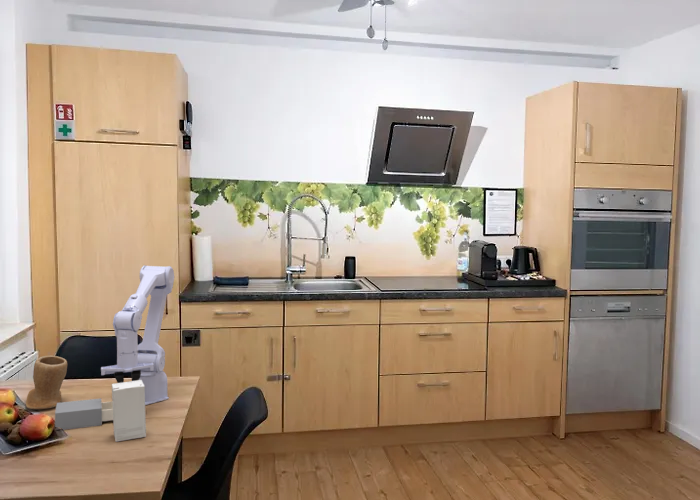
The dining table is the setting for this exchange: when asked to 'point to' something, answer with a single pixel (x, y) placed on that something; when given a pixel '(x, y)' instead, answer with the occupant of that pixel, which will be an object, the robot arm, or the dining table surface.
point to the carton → (78, 414)
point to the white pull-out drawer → (107, 411)
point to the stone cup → (47, 382)
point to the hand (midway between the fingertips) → (127, 395)
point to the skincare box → (129, 410)
